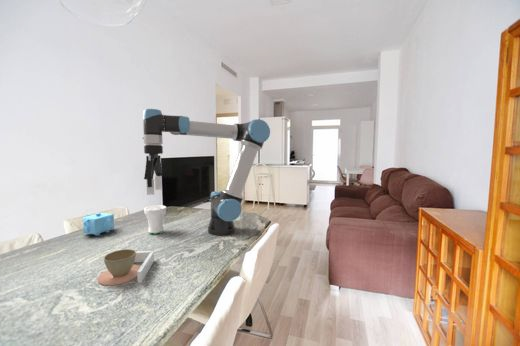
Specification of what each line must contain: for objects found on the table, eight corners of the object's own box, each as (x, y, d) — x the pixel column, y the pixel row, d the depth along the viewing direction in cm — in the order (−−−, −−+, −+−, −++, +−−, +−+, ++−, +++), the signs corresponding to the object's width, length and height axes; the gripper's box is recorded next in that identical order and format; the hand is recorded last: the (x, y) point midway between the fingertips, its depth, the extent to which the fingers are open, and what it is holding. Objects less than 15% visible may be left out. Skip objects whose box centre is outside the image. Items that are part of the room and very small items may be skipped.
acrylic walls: (154, 259, 96) (154, 250, 96) (141, 282, 79) (140, 271, 79) (112, 262, 93) (111, 253, 93) (88, 287, 76) (88, 275, 76)
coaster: (147, 263, 92) (147, 262, 92) (134, 283, 79) (134, 282, 79) (108, 266, 90) (108, 265, 90) (89, 287, 76) (89, 286, 76)
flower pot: (142, 269, 87) (142, 251, 87) (118, 283, 78) (117, 263, 77) (123, 264, 91) (122, 247, 90) (98, 277, 81) (96, 258, 81)
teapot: (95, 239, 117) (94, 218, 116) (72, 235, 124) (71, 214, 123) (123, 230, 132) (122, 210, 131) (101, 226, 138) (100, 208, 137)
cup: (167, 228, 136) (166, 204, 134) (166, 234, 125) (165, 209, 124) (146, 230, 132) (145, 206, 131) (143, 237, 122) (142, 210, 120)
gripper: (152, 145, 114) (153, 187, 116) (134, 143, 90) (136, 197, 92) (168, 145, 116) (169, 187, 118) (154, 144, 91) (156, 196, 93)
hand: (154, 191), depth 105 cm, fingers open, 13 cm apart
